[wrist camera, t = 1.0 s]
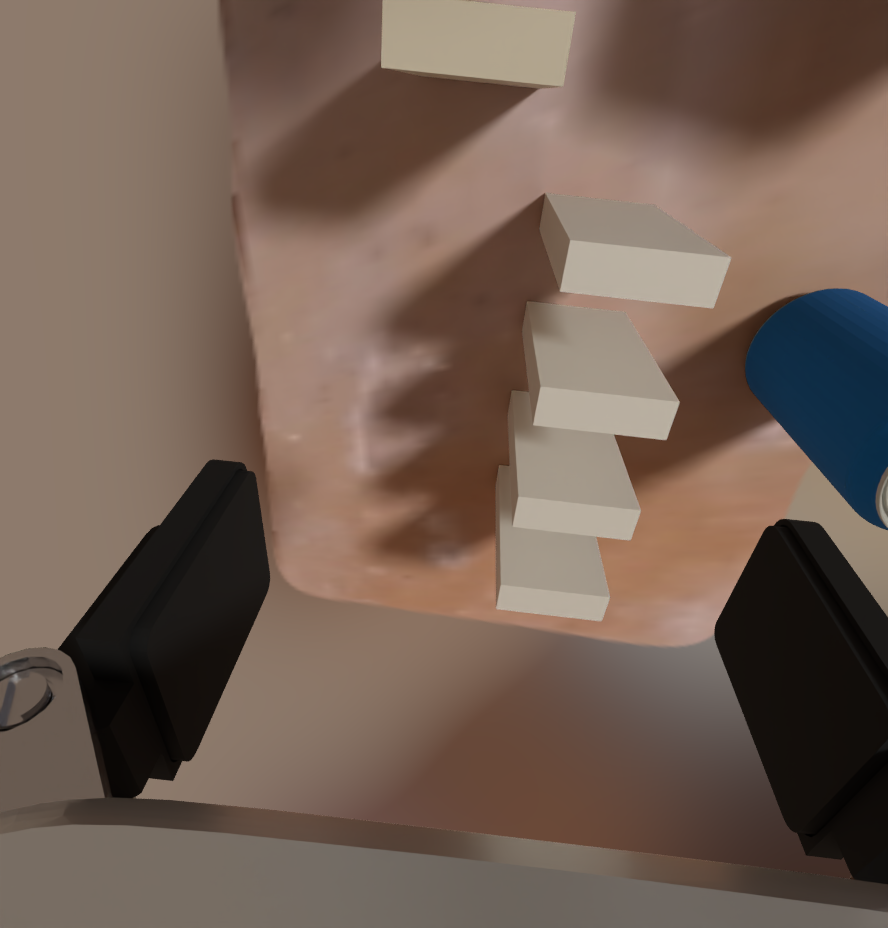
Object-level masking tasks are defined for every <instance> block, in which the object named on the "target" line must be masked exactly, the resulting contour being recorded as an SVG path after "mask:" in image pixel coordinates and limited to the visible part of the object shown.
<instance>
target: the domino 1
mask: <svg viewBox="0 0 888 928" xmlns="http://www.w3.org/2000/svg"><path fill="white" fill-rule="evenodd" d="M575 14H576V12H569V11H560V10H550V9H540V8H531V7H521V6H511V5H502V4H492V3H482V2H473V1H463V0H383V4H382V51H381V68H385V69H390V70H394V71H399V72H404V73H408V74H413V75H417V76H423V77H433V78H442V79H452V80H461V81H471V82H480V83H490V84H499V85H509V86H518V87H528V88H537V89H541V88H554V87H563V85H564V79H565V73H566V67H567V61H568V56H569V50H570V44H571V38H572V32H573V26H574V20H575Z"/></svg>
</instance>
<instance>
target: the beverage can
mask: <svg viewBox="0 0 888 928" xmlns="http://www.w3.org/2000/svg"><path fill="white" fill-rule="evenodd" d="M745 373H746V379H747V382H748V385H749V387H750V389H751V391H752V392H753V394H754V395H755V396H756V397H757V398H758V400H759V401H760V402H761V403H762V404H763V405H764V407H765V408H766V409H767V410H768V411H769V412H770V413H771V415H772V416H773V417H774V418H775V419H776V420H777V422H778V423H779V424H780V425H781V426H782V427H783V428H784V430H785V431H786V432H787V433H788V434H789V435H790V437H791V438H792V439H793V440H794V441H795V442H796V444H797V445H798V446H799V447H800V448H801V449H802V450H803V452H804V453H805V454H806V455H807V456H808V457H809V459H810V460H811V461H812V462H813V463H814V464H815V465H816V467H817V468H818V469H819V470H820V471H821V472H822V473H823V475H824V476H825V477H826V478H827V479H828V480H829V482H830V483H831V484H832V485H833V486H834V487H835V488H836V490H837V491H838V492H839V493H840V494H841V495H842V497H843V498H844V499H845V500H846V501H847V502H848V504H849V505H850V506H851V507H852V508H853V509H854V510H855V512H857V513H858V514H859V515H860V516H861V517H862V518H863V519H865V520H866V521H868V522H869V523H871V524H873V525H876V526H878V527H880V528H883V529H886V530H888V307H887V306H885V305H884V304H882V303H880V302H878V301H876V300H874V299H872V298H871V297H869V296H867V295H865V294H863V293H860V292H858V291H854V290H849V289H838V288H836V289H825V290H820V291H815V292H812V293H809V294H806V295H804V296H801V297H799V298H797V299H795V300H793V301H791V302H789V303H788V304H786V305H785V306H783V307H782V308H780V309H779V310H778V311H776V312H775V313H774V314H773V315H772V316H771V317H770V318H769V319H768V320H767V321H766V322H765V323H764V324H763V325H762V326H761V328H760V329H759V330H758V332H757V333H756V335H755V336H754V338H753V340H752V342H751V344H750V347H749V349H748V352H747V356H746V362H745Z"/></svg>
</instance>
